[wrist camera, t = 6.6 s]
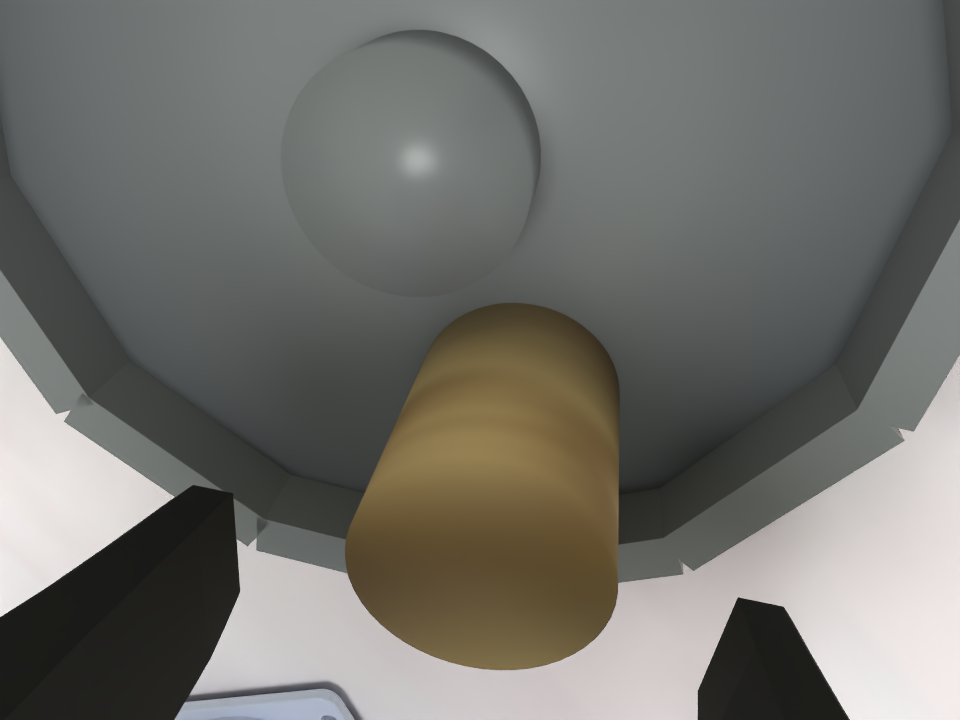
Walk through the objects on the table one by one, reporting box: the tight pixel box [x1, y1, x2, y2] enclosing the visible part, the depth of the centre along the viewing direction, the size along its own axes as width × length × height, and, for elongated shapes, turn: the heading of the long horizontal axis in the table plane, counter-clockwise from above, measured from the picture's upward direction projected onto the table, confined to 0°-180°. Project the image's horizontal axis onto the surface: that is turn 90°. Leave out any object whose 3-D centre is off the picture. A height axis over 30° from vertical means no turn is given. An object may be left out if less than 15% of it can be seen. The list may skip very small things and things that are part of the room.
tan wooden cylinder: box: [345, 303, 620, 670], centre depth 13 cm, size 4×4×5 cm
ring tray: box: [0, 0, 960, 583], centre depth 13 cm, size 18×18×2 cm
